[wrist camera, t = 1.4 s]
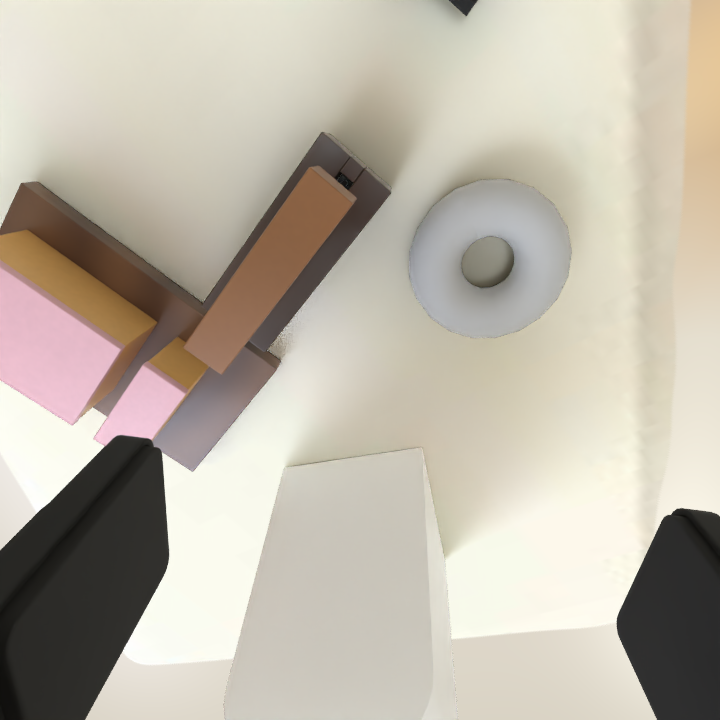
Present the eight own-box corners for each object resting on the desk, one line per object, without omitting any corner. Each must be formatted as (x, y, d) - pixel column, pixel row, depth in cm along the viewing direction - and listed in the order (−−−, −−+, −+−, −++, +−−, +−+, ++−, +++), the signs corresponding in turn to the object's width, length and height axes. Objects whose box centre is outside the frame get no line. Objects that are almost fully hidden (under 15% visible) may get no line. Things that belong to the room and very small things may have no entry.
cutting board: (-26, 313, 36) (-43, 319, 35) (36, 181, 32) (20, 182, 30) (199, 461, 40) (192, 472, 39) (281, 361, 36) (276, 369, 34)
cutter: (242, 292, 34) (181, 347, 24) (336, 161, 30) (309, 166, 21) (269, 313, 34) (221, 375, 25) (366, 187, 31) (353, 203, 21)
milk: (283, 467, 40) (117, 941, 16) (421, 447, 38) (467, 942, 14) (320, 574, 44) (233, 1067, 20) (444, 559, 42) (509, 1079, 19)
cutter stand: (219, 291, 34) (200, 306, 31) (330, 133, 29) (321, 131, 26) (276, 334, 35) (264, 353, 32) (392, 188, 30) (391, 192, 27)
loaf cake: (-12, 307, 34) (-77, 332, 29) (27, 228, 32) (-37, 241, 27) (113, 390, 36) (72, 426, 31) (159, 322, 34) (121, 349, 29)
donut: (476, 354, 35) (594, 256, 31) (483, 375, 32) (615, 268, 28) (377, 257, 32) (493, 139, 29) (374, 270, 29) (504, 139, 26)
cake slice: (131, 402, 36) (92, 438, 32) (177, 335, 34) (142, 364, 29) (166, 425, 37) (133, 464, 32) (214, 361, 35) (185, 394, 30)
